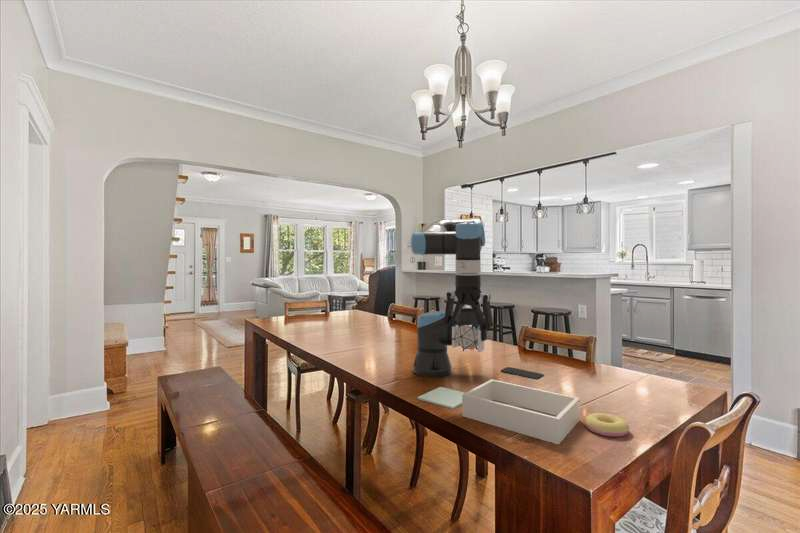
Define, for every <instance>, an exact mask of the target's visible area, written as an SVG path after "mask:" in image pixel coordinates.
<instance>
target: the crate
mask: <svg viewBox="0 0 800 533" xmlns="http://www.w3.org/2000/svg"><path fill="white" fill-rule="evenodd" d="M580 405H581V398H580V397H578V396H577V397H576V396H572V395H566V394H561V393H556V392H553V391H547V390H545V389H539V388H534V387H530V386H524V385H520V384H514V383H511V382H506V381H501V380H497V379H493V378H491V379H489V380H488V381H486V382H484V383H482V384H480V385H478V386H476V387H474V388H472V389H470V390H469V391H467V392H464V394H463V395H462V406H461V414H462V415H461V416H462V417H464V418H467V419H471V420H473V421H474V420H475V421H477V422H481V423H485V424H488V425H490V426H495V427H498V428H502V429H503V430H504V429H505V430H508V431H511V432H515V433H518V434H522V435H524V436H529V437H532V438H536V439H537V440H538V439H539V440H542V441H545V442H547V443H551V442H552V444H555V445H558V444H559V445H560V444H561V443H562V442H563V441H564V440H565V438H566V437H567V436H568V435H569V434H570V432H571V431H572V430H573V429H574V428H575V426H576V425H577V424H578V423H579V421H580V418H581V408H580V407H581V406H580ZM567 434H568V435H567ZM561 441H562V442H561Z"/></svg>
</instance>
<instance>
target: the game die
mask: <svg viewBox="0 0 800 533" xmlns="http://www.w3.org/2000/svg"><path fill="white" fill-rule="evenodd" d="M458 326H459V328H458V331H457V333H456V336H455V338H453V339H452V340H456V341H457V342H458V344H459V345H460V346H459V347H461V348H462V352H464V351H465V350H470V349H476V351H478V346H477V345H478V330H477V329H476V328H475V327H474V326H473V322H472V323H471V325H462V326H460V324H458Z"/></svg>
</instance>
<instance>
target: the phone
mask: <svg viewBox="0 0 800 533" xmlns="http://www.w3.org/2000/svg"><path fill="white" fill-rule="evenodd" d="M500 373H503V374H508V375H512V376H517V375H518V376H517V377H522V378H528V379H531V380H539V379H541V378H543V377H544V376H545V375H544V373H540V372H535V371H531V370H526V369H521V368H516V367H510V366H507V367H504V368H502V369H500Z"/></svg>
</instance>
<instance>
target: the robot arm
mask: <svg viewBox="0 0 800 533" xmlns="http://www.w3.org/2000/svg"><path fill="white" fill-rule="evenodd" d="M410 242H411V243H410V244H411V252H412V254H414V255H420V256H425V255H427V256H428V255H455V274H456V275H455V283H454V285H455V289H454V291H449V292H446V294H445V295H446V300H447V301H446V307H445V310H442V311H441V310H439V311H438V310H437V311H429V312H424V313H421V314H420V315H419V316H418V317H417V324H416V328H417V345H416V346H417V352H416V355H415V358H414V361H413V364H412V372H413V373H414V374H415V373H416V375H417V374H418V376H421V375H422V377H426V376H428V377H427V378H429V377H430V378H439V377H440V378H441V377H446V376H449V375H450V374H452V373H453V372H452V370H453V369H452V367H453V366H452V363H451V360H450V357H449V354H448V347H449V346H451V348H453V349H455V348H457V347H461V346H460V345H459V344H458V342H457V341H456V340H452V339H453V338H455V336H456V333H457V331H458V328H459V326H458V324H460V326H462V325H471V323H472V322H473V326H474V327H475V328H476V329H477V330H478V345H477V348H478V350H477V352H478V353H482V352H484V351H485V341H487V339H488V336H487V335H488V329H489V330H490V329H492V328H493V327H494V322H493V316H492V315H493V314H492V309H491V297H492V296H491V294H486V293H482V291H481V290H482V289H481V286H482V285H481V284H482V283H481V280H482V279H481V277H482V276H481V275H480V274H481V272H482V271H481V267H482V266H481V265H482V264H481V260H482V259H481V252H482V250H483V249H482V248H483V247H485V245H486V234H485V227H484V222H483V221H482V219H480V218H472V217H471V218H457V219H456V218H452V219H450V218H449V219H448V218H447V219H446V218H445V219H441V220H438V221H434V222H432V223H430V224H429V225H427V226H426V228H425V229H424V231H419V232H418V231H416V232H413V233H412V234H411V239H410ZM455 298H456V303H455ZM480 298H481V299H480ZM480 300H481V301H482V308H481V304H480ZM454 306H455V307H454Z"/></svg>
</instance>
